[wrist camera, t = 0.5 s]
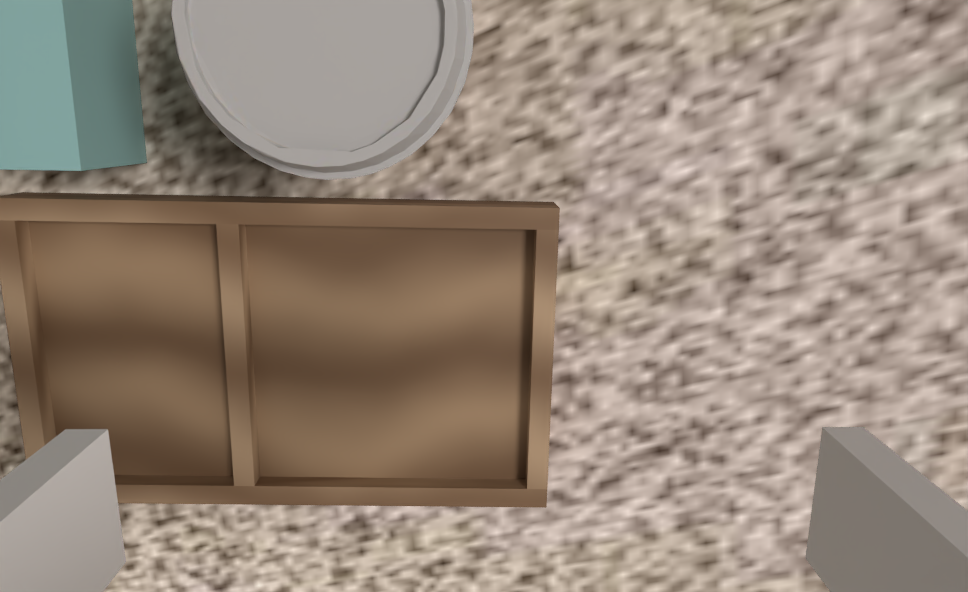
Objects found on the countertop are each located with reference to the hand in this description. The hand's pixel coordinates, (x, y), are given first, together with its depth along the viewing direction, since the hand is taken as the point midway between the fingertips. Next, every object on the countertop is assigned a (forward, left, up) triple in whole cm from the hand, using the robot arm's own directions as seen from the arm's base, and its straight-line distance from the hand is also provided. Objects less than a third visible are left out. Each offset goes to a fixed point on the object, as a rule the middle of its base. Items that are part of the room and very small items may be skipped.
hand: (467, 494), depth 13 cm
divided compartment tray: (+5, -9, -23) cm, 25 cm away
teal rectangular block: (-9, -18, -23) cm, 31 cm away
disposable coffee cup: (-9, -5, -23) cm, 25 cm away
